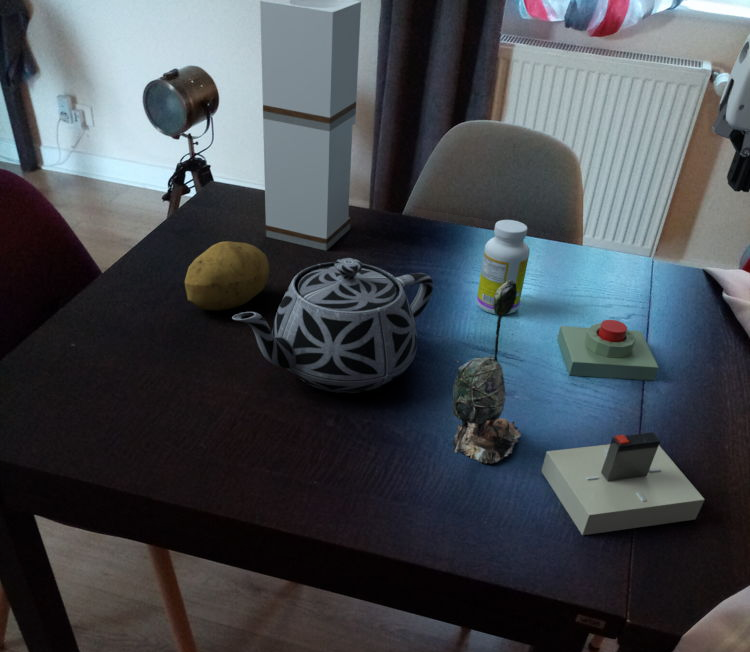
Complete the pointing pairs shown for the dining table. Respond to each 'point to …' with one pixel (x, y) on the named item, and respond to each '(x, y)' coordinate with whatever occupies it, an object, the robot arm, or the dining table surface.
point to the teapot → (344, 326)
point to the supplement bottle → (503, 263)
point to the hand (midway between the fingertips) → (737, 187)
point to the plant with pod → (485, 398)
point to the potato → (226, 276)
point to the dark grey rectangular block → (630, 456)
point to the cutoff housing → (606, 354)
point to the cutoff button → (612, 331)
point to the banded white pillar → (308, 117)
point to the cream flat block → (619, 491)
